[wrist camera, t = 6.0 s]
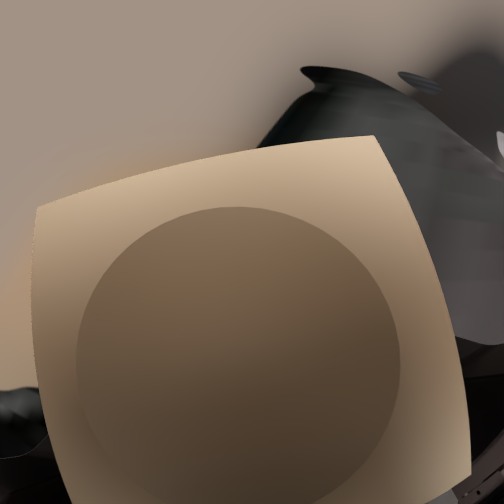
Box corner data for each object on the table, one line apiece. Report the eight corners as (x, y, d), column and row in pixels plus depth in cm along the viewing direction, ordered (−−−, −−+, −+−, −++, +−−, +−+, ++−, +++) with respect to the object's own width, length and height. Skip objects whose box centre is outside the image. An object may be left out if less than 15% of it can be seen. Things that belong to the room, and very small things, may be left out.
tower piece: (307, 392, 14) (507, 487, 1) (214, 412, 14) (70, 576, 1) (285, 304, 16) (391, 96, 3) (195, 324, 16) (6, 178, 3)
